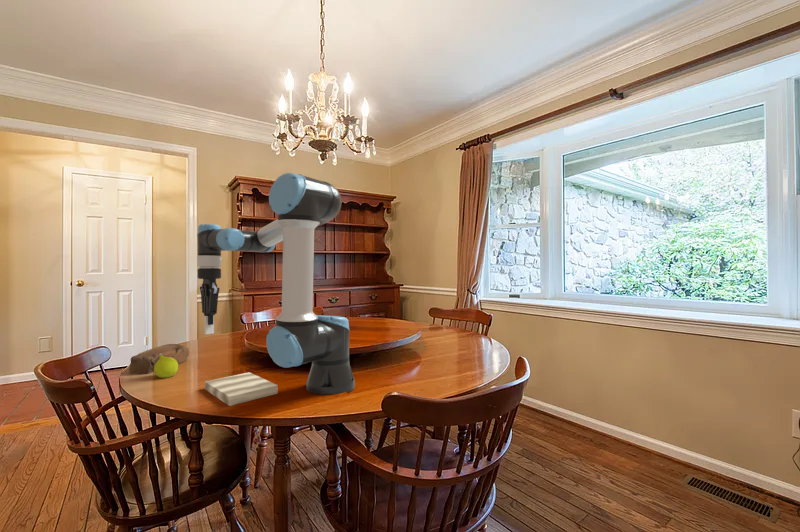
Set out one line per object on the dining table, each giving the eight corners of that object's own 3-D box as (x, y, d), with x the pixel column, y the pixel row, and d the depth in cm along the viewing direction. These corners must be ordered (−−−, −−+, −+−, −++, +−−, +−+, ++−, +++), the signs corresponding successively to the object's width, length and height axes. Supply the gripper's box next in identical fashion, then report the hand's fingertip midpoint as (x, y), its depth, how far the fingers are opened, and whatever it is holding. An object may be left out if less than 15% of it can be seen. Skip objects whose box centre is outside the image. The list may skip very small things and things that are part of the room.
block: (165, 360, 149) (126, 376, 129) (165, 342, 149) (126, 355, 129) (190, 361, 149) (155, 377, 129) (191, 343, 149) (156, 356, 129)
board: (277, 393, 110) (277, 385, 110) (229, 406, 100) (229, 396, 100) (249, 379, 124) (249, 372, 124) (204, 389, 114) (204, 381, 114)
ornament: (149, 381, 123) (149, 351, 123) (161, 375, 130) (161, 347, 130) (171, 380, 123) (171, 351, 123) (182, 374, 130) (182, 346, 130)
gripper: (227, 267, 129) (227, 334, 129) (214, 267, 138) (213, 330, 138) (204, 267, 124) (204, 337, 124) (192, 267, 133) (191, 332, 133)
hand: (209, 333), depth 131 cm, fingers closed
